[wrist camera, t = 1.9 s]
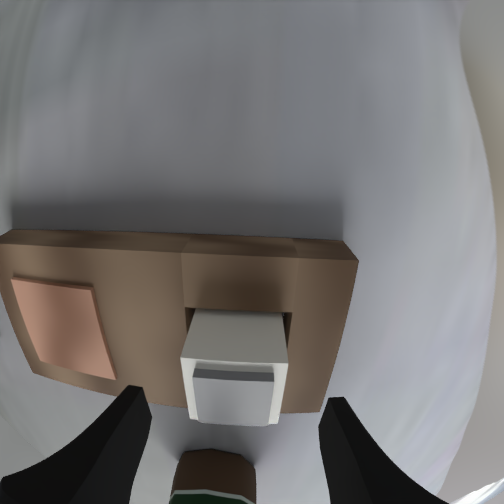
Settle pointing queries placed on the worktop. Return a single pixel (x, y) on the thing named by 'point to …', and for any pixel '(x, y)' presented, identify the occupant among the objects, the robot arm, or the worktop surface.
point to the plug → (235, 367)
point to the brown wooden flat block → (169, 304)
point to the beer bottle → (213, 479)
